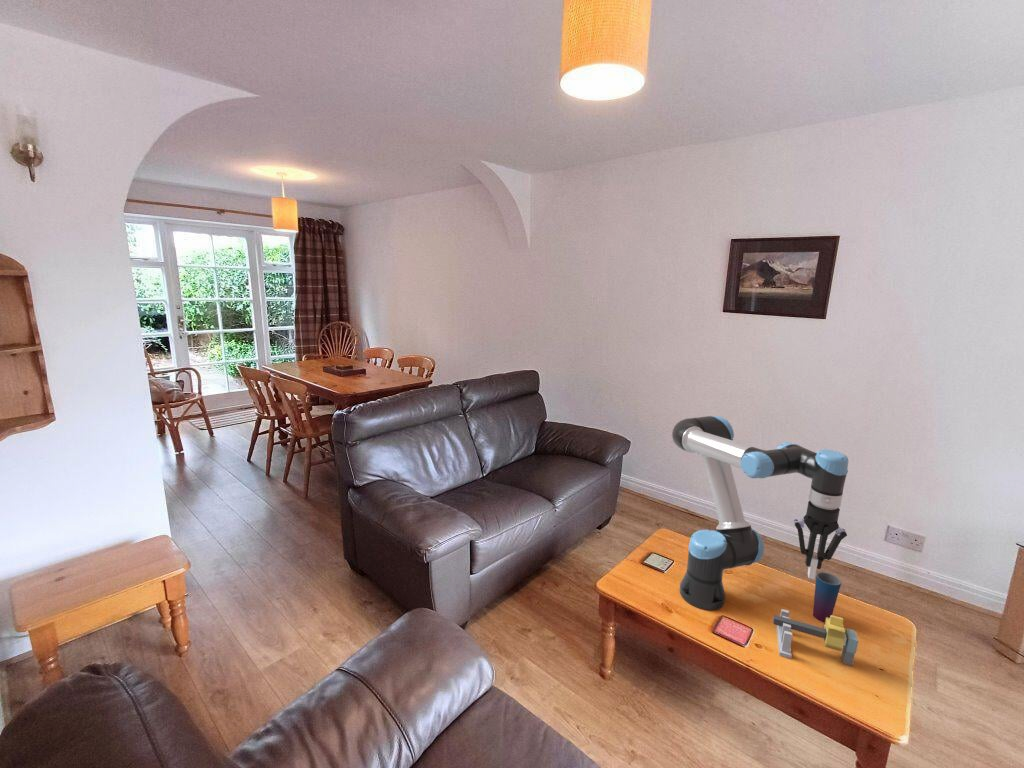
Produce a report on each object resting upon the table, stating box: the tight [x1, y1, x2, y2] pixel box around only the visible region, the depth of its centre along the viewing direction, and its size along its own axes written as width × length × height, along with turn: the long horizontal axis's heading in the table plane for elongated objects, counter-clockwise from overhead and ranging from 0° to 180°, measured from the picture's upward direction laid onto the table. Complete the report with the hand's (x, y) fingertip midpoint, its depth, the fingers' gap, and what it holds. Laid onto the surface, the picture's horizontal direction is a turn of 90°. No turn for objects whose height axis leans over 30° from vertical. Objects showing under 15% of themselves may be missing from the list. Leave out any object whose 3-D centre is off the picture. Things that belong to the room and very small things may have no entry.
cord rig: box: [772, 608, 859, 666], centre depth 139 cm, size 21×13×9 cm, turn 64°
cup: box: [812, 571, 842, 624], centre depth 152 cm, size 7×7×15 cm
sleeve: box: [822, 614, 846, 652], centre depth 136 cm, size 4×5×9 cm
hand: (811, 576), depth 136 cm, fingers closed
